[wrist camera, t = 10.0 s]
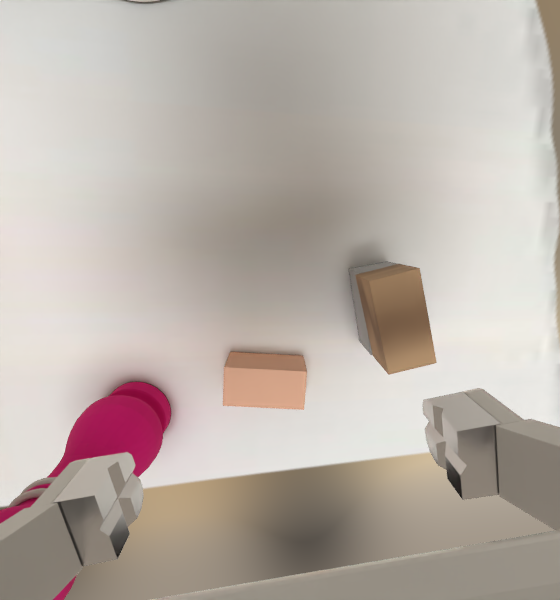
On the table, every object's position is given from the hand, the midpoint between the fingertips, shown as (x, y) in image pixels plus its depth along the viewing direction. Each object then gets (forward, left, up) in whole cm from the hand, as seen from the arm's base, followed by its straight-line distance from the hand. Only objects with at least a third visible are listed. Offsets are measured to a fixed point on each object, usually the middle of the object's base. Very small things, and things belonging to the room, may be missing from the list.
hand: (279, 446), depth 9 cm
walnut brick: (+2, +9, -18) cm, 20 cm away
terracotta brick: (+7, -2, -22) cm, 23 cm away
